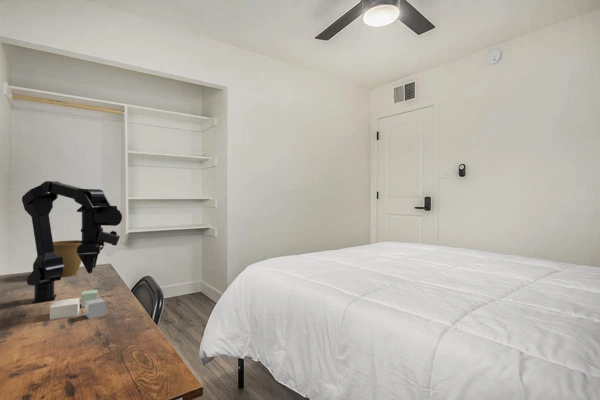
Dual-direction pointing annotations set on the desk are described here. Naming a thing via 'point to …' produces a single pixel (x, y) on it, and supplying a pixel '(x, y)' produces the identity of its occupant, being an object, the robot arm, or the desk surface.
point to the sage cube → (89, 296)
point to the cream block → (64, 308)
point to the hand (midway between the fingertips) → (91, 270)
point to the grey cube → (94, 308)
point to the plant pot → (68, 256)
